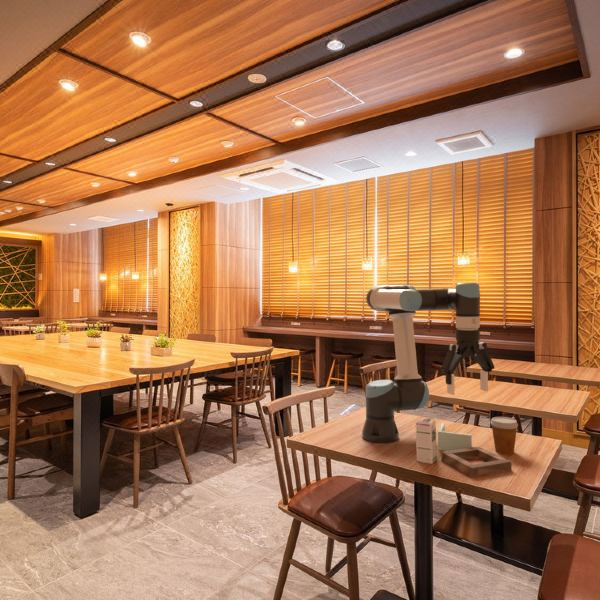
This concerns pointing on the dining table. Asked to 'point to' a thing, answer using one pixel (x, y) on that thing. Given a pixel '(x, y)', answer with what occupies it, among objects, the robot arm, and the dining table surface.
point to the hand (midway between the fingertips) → (467, 392)
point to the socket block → (489, 467)
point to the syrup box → (426, 440)
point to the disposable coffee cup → (504, 434)
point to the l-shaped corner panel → (453, 440)
